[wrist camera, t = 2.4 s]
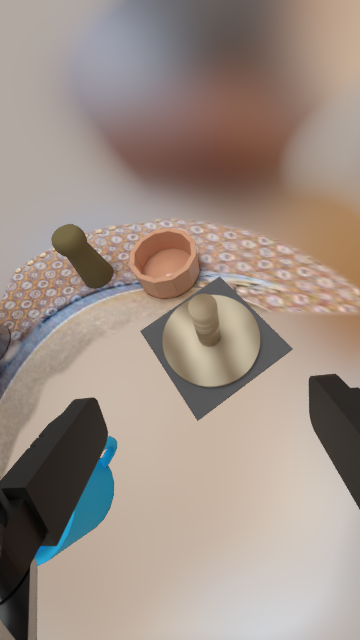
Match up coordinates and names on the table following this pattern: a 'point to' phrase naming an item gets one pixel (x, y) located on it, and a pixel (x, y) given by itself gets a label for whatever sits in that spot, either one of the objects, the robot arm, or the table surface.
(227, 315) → the lid
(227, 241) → the table surface
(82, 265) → the olive pawn
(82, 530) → the mug
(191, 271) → the bowl
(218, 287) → the mat
